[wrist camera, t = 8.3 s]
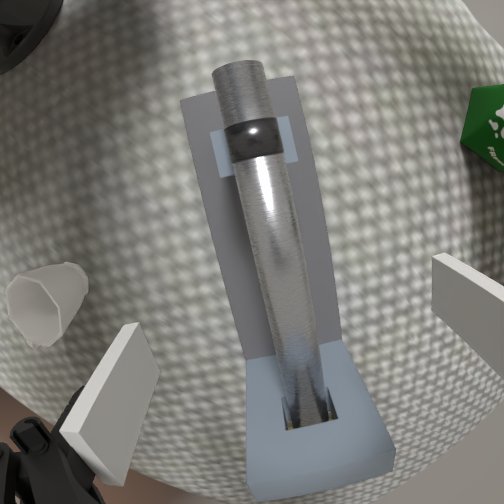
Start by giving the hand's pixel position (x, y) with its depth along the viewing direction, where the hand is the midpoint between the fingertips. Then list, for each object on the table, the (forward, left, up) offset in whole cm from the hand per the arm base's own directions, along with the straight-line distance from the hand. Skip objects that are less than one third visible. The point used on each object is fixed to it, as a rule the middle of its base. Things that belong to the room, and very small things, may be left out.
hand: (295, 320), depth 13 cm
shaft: (+1, 0, -8) cm, 8 cm away
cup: (+9, -20, -17) cm, 28 cm away
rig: (+3, +1, -16) cm, 17 cm away
